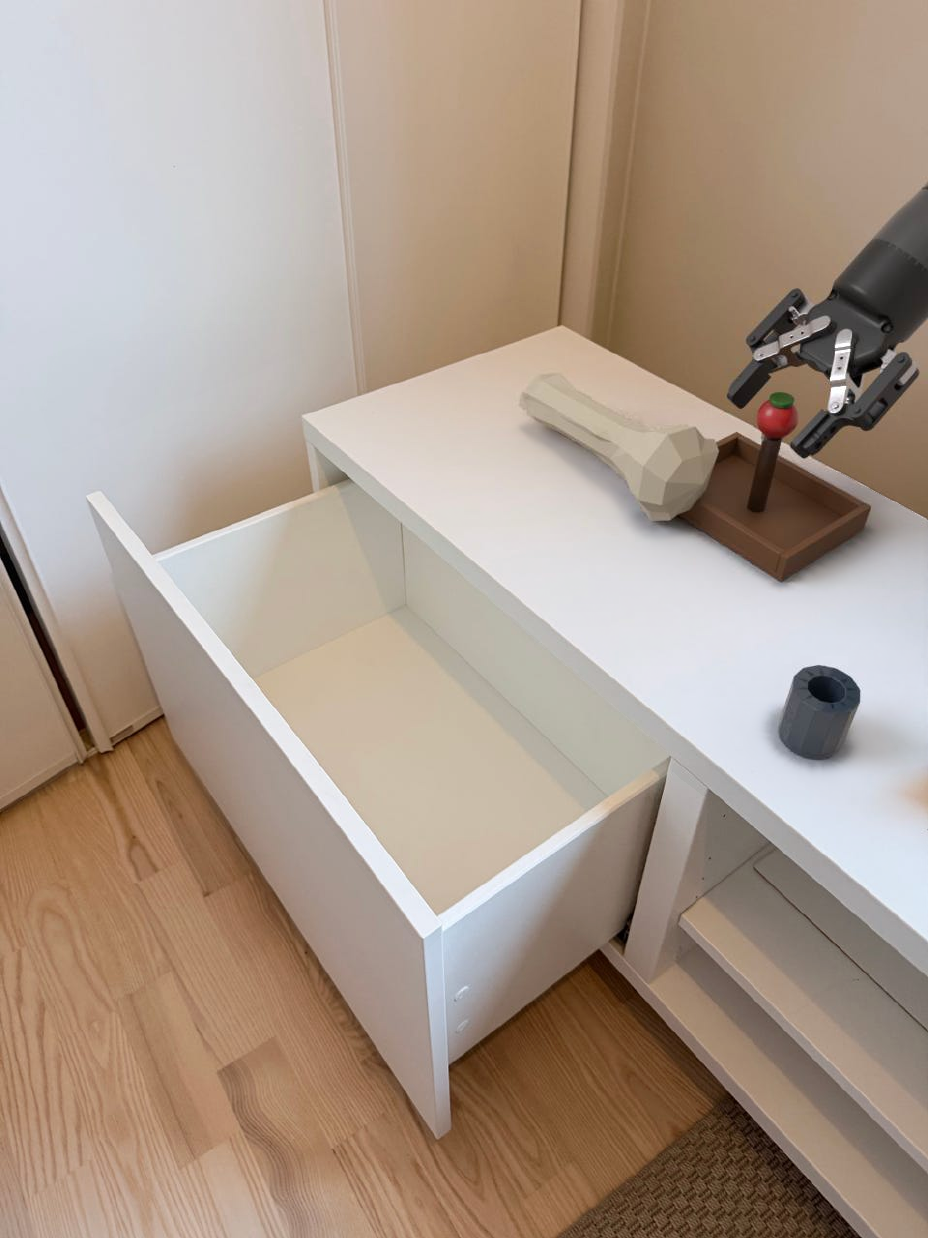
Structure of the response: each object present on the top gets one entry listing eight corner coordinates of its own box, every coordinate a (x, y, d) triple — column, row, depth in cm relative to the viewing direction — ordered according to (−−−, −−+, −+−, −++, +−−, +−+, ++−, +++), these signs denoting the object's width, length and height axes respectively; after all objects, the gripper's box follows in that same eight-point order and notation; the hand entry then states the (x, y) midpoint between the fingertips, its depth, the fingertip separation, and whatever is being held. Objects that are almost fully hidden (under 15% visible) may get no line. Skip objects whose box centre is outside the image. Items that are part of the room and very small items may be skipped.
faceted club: (652, 542, 81) (486, 427, 97) (717, 529, 86) (549, 421, 101) (682, 448, 76) (503, 343, 92) (749, 439, 81) (568, 341, 97)
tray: (864, 529, 84) (872, 506, 82) (780, 582, 79) (787, 558, 77) (731, 453, 93) (736, 431, 91) (649, 497, 88) (653, 474, 86)
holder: (853, 753, 66) (873, 706, 62) (795, 765, 65) (812, 719, 62) (822, 707, 69) (840, 660, 65) (767, 718, 68) (781, 671, 65)
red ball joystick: (781, 515, 84) (810, 405, 77) (746, 521, 84) (772, 411, 76) (764, 493, 87) (791, 384, 79) (730, 499, 86) (754, 390, 78)
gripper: (831, 208, 76) (692, 368, 81) (966, 274, 67) (800, 451, 71) (864, 260, 81) (732, 407, 86) (994, 328, 72) (838, 489, 77)
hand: (763, 427), depth 79 cm, fingers open, 8 cm apart
